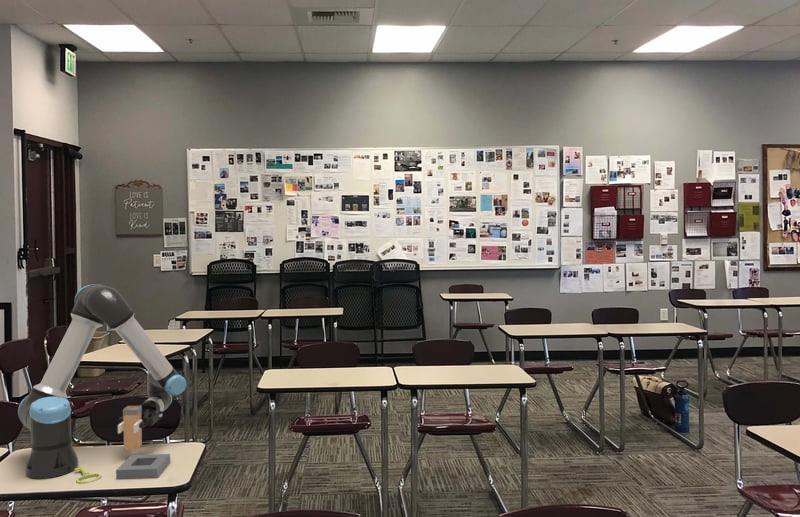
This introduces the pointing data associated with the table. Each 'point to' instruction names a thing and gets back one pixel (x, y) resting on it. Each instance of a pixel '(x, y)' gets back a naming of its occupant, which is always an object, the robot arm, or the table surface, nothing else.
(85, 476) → the key
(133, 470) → the socket block
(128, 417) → the plug
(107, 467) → the table surface
